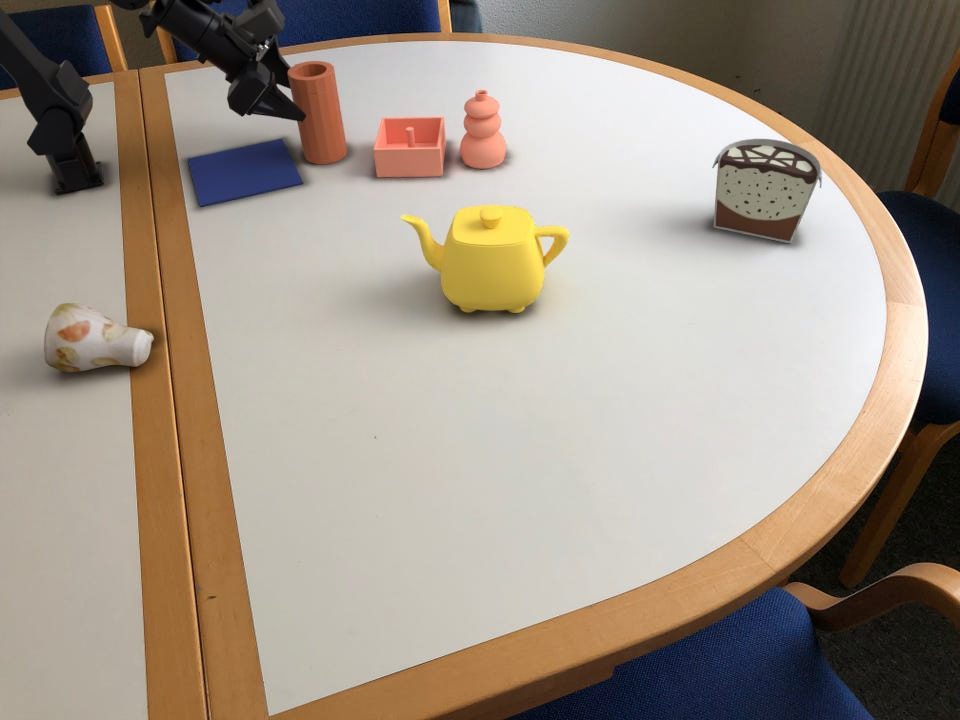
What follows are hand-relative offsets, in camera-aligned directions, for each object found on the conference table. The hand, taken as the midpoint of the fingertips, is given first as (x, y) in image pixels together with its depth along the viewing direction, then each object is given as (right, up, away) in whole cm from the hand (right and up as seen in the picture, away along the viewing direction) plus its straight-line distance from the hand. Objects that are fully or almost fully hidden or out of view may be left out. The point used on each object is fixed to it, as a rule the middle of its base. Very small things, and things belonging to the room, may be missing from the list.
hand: (304, 103), depth 110 cm
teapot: (+25, -28, -19) cm, 42 cm away
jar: (+2, -6, +6) cm, 8 cm away
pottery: (+19, -7, +3) cm, 21 cm away
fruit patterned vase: (-15, -36, -26) cm, 47 cm away
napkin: (-9, -9, +3) cm, 13 cm away
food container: (+59, -19, -11) cm, 63 cm away
